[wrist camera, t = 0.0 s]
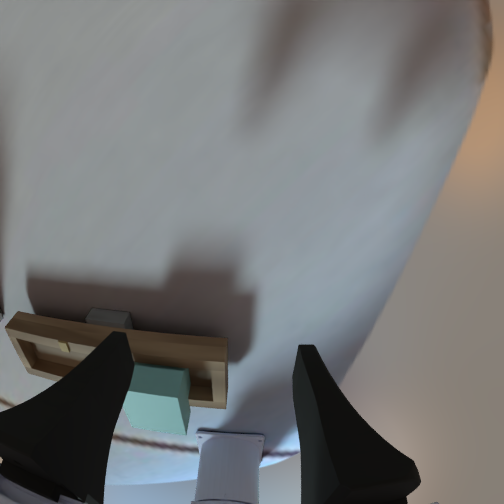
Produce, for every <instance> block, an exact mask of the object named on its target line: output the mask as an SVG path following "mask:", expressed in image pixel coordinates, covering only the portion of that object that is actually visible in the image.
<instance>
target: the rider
mask: <svg viewBox="0 0 504 504" xmlns="http://www.w3.org/2000/svg"><path fill="white" fill-rule="evenodd" d="M134 363H135V367H134V371H133V376H132V380H131V384H130V387H129V390H128V393H127V395H126V398H125V401H124V403H123V408H124V410H125V412H126V415H127V417H128V419H129V421H130V423H131V425H132V427H135V428H140V429H146V430H151V431H158V432H164V433H171V434H179V435H187V429H188V423H189V417H190V412H191V411H190V405H189V400H188V396H189V391H190V386H191V381H190V374H189V368H178V367H169V366H161V365H152V364H145V363H138V362H134Z"/></svg>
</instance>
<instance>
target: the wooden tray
mask: <svg viewBox="0 0 504 504" xmlns="http://www.w3.org/2000/svg"><path fill="white" fill-rule="evenodd" d="M85 320H86V323H80V322H74V321H68V320H62V319H56V318H51V317H45V316H40V315H35V314H29V313H24V312H20V311H18V312H17V313H16V314H15V315H14V316H13V318H12V319H11V320H10V321H9V323H8V324H7V325H6V326H5V329H6V332H7V334H8V336H9V338H10V340H11V342H12V344H13V346H14V348H15V350H16V352H17V354H18V355H19V357H20V359H21V361H22V363H23V365H24V366H25V368H26V370H27V372H28V373H30V374H33V375H36V376H39V377H43V378H46V379H50V380H53V381H57V382H58V381H59V380H60V379H62V378H63V377H64V376H65V375H67V374H68V373H69V372H70V371H71V370H72V369H74V368H75V367H76V366H77V365H78V364H79V363H80V362H81V361H82V360H84V359H85V358H86V357H87V356H88V355H89V354H90V353H91V352H92V351H93V350H94V349H95V348H96V347H97V346H98V345H99V344H100V343H101V342H102V341H103V340H104V339H105V338H106V337H107V336H108V335H109V334H110V333H112V332H113V331H118V332H126V335H127V339H128V342H129V346H130V349H131V353H132V356H133V360H134V362H138V363H145V364H152V365H161V366H169V367H178V368H189V374H190V381H191V386H190V391H189V396H188V400H189V405H190V406H195V407H205V408H217V409H226V404H227V393H228V342H227V338H218V337H203V336H191V335H179V334H168V333H158V332H149V331H140V330H134V329H133V325H132V321H131V317H130V312H122V311H113V310H105V309H97V308H92V309H91V310H90V312H89V314H88V315H87V317H86V318H85Z"/></svg>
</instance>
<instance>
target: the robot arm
mask: <svg viewBox="0 0 504 504" xmlns="http://www.w3.org/2000/svg"><path fill="white" fill-rule="evenodd" d="M134 367H135V363H134V360H133V356H132V353H131V349H130V346H129V342H128V339H127V335H126V332H118V331H113V332H112V333H110V334H109V335H108V336H107V337H106V338H105V339H104V340H103V341H102V342H101V343H100V344H99V345H98V346H97V347H96V348H95V349H94V350H93V351H92V352H91V353H90V354H89V355H88V356H87V357H86V358H85V359H84V360H82V361H81V362H80V363H79V364H78V365H77V366H76V367H75V368H74V369H72V370H71V371H70V372H69V373H68V374H67V375H65V376H64V377H63V378H62V379H60V380H59V381H58V382H56V383H55V384H53V385H52V386H51V387H49V388H48V389H46V390H45V391H43V392H41V393H40V394H38V395H36V396H35V397H33V398H31V399H29V400H27V401H25V402H24V403H21V404H19V405H17V406H15V407H13V408H10V409H8V410H5V411H2V412H0V457H1V458H2V459H3V461H2V463H0V504H103V501H104V485H105V476H106V468H107V462H108V456H109V450H110V445H111V441H112V436H113V432H114V429H115V425H116V423H117V420H118V417H119V414H120V412H121V409H122V406H123V403H124V401H125V398H126V395H127V393H128V390H129V387H130V384H131V380H132V376H133V371H134ZM292 379H293V401H294V407H295V414H296V421H297V427H298V434H299V440H300V450H301V504H407V503H408V502H407V498H406V496H407V495H409V494H410V493H411V492H412V491H414V490H415V489H416V488H417V487H418V486H419V485H420V483H421V479H420V476H419V472H418V469H417V467H416V465H415V463H414V461H413V460H412V459H410V458H409V457H407V456H406V455H404V454H403V453H401V452H400V451H398V450H397V449H396V448H394V447H393V446H392V445H391V444H389V443H388V442H387V441H386V440H384V439H383V438H382V437H381V436H380V435H379V434H378V433H377V432H376V431H375V430H374V429H373V428H371V427H370V426H369V425H368V423H367V422H366V421H365V420H364V419H363V418H362V417H361V416H360V415H359V414H358V412H357V411H356V410H355V409H354V408H353V406H352V405H351V404H350V403H349V401H348V400H347V399H346V397H345V396H344V394H343V393H342V392H341V390H340V389H339V387H338V386H337V384H336V383H335V381H334V379H333V378H332V376H331V375H330V373H329V371H328V370H327V368H326V366H325V364H324V362H323V361H322V359H321V357H320V355H319V353H318V351H317V349H316V347H315V346H314V345H299V346H298V351H297V356H296V361H295V366H294V371H293V376H292ZM196 439H197V443H198V448H199V453H200V461H199V469H198V477H197V485H196V494H195V501H191V504H259V466H260V463H261V457H262V451H263V445H264V439H265V437H264V436H263V435H253V434H232V433H217V432H205V431H197V432H196ZM431 504H439V503H438V502H434V503H431Z"/></svg>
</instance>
